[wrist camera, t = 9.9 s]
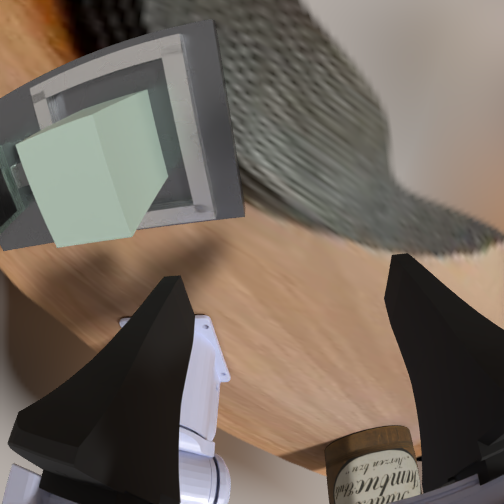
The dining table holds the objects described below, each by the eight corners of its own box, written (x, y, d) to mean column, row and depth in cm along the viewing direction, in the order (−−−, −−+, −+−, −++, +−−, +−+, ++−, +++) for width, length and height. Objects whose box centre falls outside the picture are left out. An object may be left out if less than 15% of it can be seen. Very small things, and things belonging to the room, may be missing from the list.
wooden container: (417, 416, 38) (442, 543, 20) (401, 445, 47) (416, 544, 29) (323, 436, 40) (332, 570, 23) (325, 460, 49) (331, 563, 31)
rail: (215, 20, 13) (185, 0, 7) (245, 208, 19) (239, 288, 13) (-37, 125, 14) (-101, 164, 9) (9, 244, 21) (-36, 300, 15)
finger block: (147, 89, 14) (92, 114, 9) (168, 176, 17) (132, 237, 12) (76, 111, 14) (9, 147, 9) (100, 189, 17) (51, 248, 12)
